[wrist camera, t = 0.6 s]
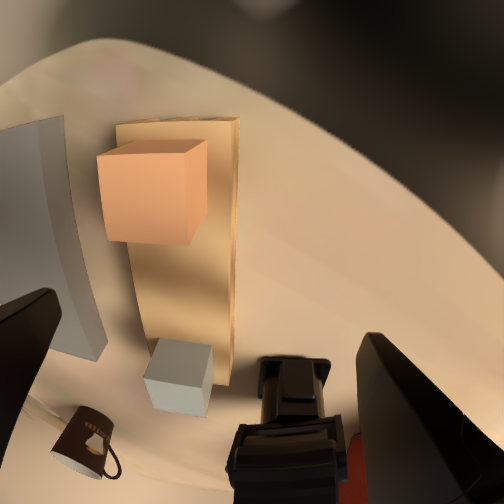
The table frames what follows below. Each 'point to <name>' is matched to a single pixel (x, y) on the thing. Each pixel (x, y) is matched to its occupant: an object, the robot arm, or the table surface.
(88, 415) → the coffee mug
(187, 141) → the orange cube
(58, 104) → the table surface
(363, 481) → the plant pot
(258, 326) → the table surface
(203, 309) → the wooden block
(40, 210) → the dock
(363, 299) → the table surface
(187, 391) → the grey cube
